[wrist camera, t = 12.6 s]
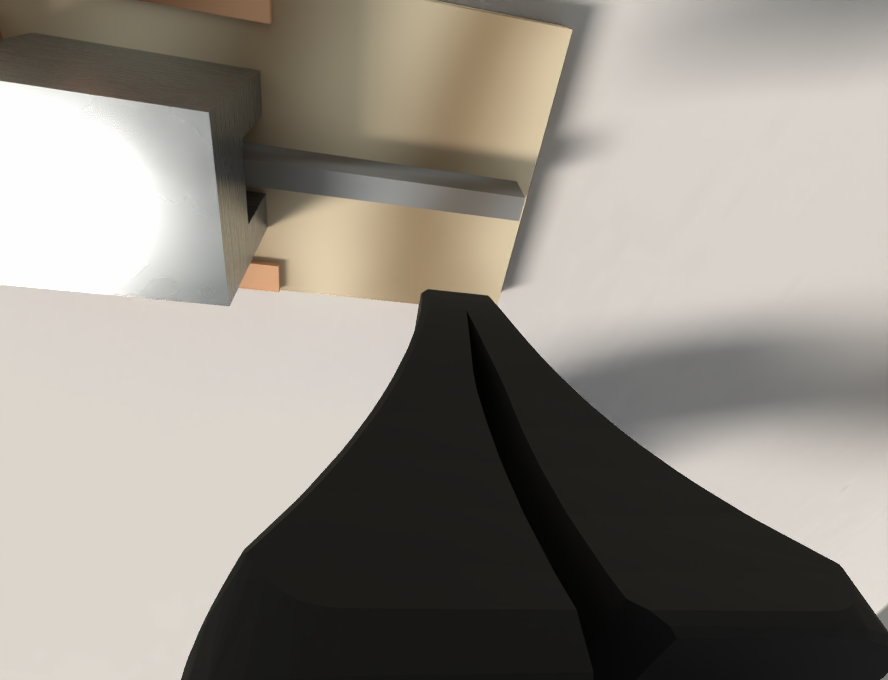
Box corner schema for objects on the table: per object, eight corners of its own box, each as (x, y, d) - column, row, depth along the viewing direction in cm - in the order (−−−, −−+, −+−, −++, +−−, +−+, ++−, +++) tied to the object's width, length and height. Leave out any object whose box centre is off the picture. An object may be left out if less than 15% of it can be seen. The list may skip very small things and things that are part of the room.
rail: (562, 25, 16) (599, 41, 13) (491, 295, 21) (505, 349, 19) (-107, -107, 13) (-258, -126, 10) (23, 246, 19) (-47, 300, 16)
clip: (260, 70, 15) (208, 111, 11) (267, 227, 18) (229, 306, 14) (32, 32, 14) (-116, 63, 10) (80, 205, 17) (-19, 282, 13)
